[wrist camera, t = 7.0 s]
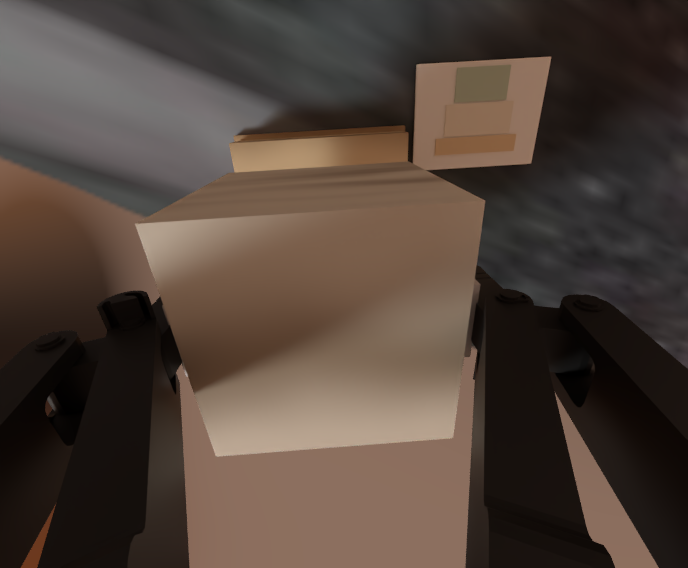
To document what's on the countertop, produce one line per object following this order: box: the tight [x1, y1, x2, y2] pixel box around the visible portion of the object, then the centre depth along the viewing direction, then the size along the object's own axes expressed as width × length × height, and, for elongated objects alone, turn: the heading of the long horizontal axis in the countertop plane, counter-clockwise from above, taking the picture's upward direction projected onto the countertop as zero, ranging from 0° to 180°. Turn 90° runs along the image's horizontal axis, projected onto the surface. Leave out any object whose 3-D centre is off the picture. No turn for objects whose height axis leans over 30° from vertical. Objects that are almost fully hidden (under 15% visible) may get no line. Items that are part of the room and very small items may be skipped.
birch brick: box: [135, 161, 485, 456], centre depth 13 cm, size 8×8×8 cm
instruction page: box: [413, 57, 551, 170], centre depth 21 cm, size 6×8×1 cm
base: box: [229, 125, 409, 172], centre depth 22 cm, size 11×11×3 cm
